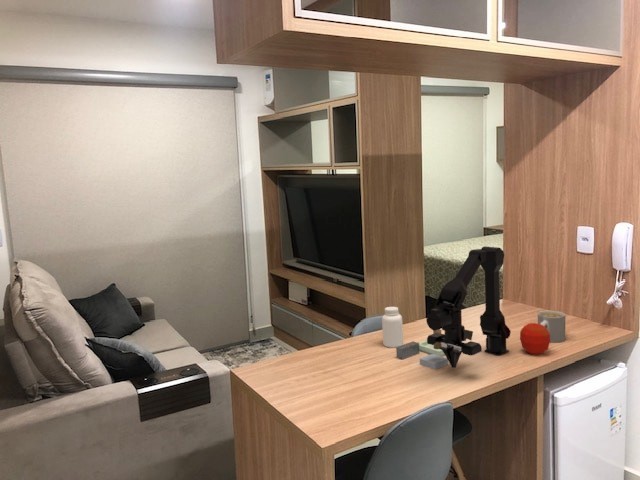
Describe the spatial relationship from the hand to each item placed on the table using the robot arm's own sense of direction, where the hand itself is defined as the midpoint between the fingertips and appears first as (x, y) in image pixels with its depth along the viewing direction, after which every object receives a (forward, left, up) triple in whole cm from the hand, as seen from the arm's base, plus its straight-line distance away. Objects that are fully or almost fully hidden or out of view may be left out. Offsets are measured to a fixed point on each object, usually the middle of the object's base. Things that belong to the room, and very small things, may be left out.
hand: (453, 367), depth 181 cm
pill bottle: (+34, -5, -1) cm, 34 cm away
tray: (+18, -13, -1) cm, 22 cm away
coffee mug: (-5, -51, -1) cm, 51 cm away
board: (+9, 0, -2) cm, 9 cm away
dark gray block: (+22, 0, -1) cm, 22 cm away
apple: (-9, -35, -1) cm, 36 cm away
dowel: (+18, -13, -1) cm, 22 cm away
